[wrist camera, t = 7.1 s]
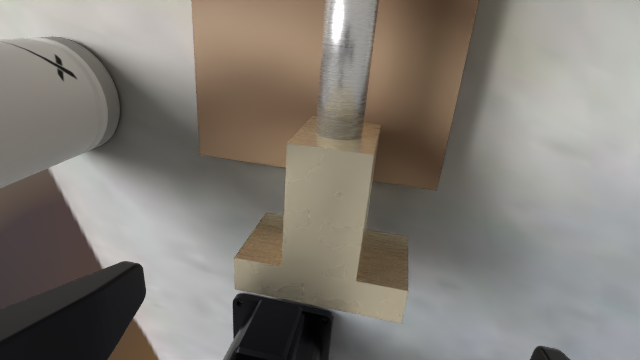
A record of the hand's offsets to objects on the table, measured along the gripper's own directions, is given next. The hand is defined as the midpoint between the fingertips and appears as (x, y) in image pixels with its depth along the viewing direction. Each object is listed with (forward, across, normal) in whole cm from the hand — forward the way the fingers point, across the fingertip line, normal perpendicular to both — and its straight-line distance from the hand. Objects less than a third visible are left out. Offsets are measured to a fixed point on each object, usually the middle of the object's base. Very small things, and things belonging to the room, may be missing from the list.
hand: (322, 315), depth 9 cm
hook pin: (+9, +1, -2) cm, 10 cm away
